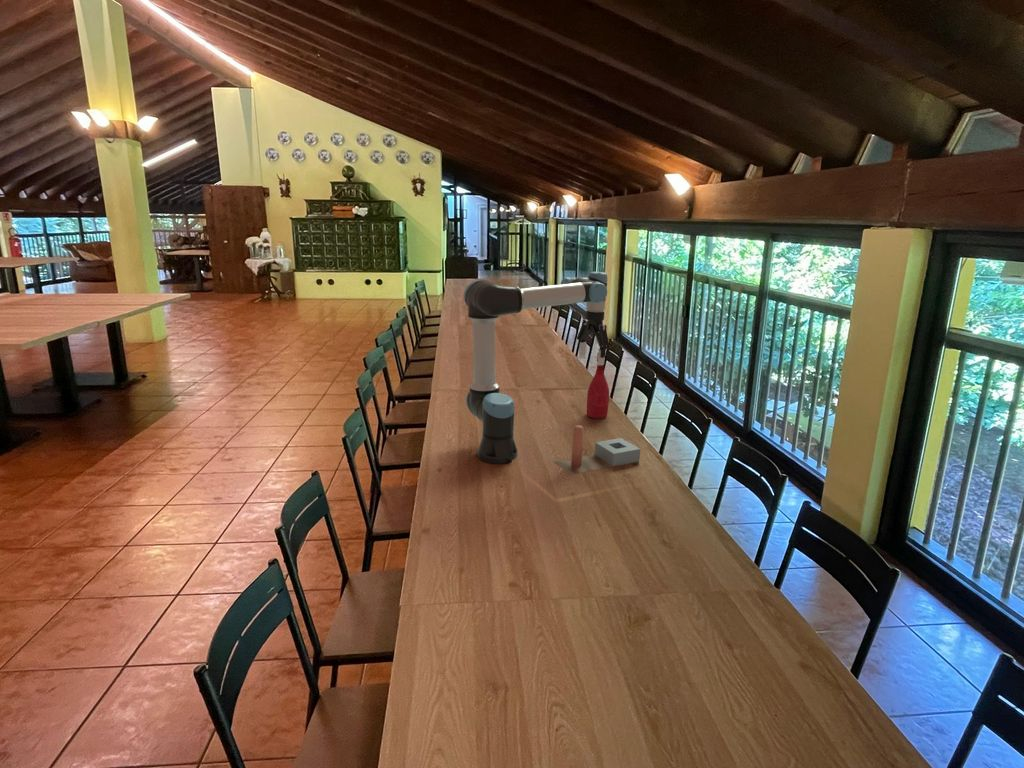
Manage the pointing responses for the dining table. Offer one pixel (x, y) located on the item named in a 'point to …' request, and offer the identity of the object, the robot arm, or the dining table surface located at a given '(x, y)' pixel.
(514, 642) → the dining table surface
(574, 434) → the peg
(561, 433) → the dining table surface
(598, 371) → the wine bottle
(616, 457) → the socket
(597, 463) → the board
